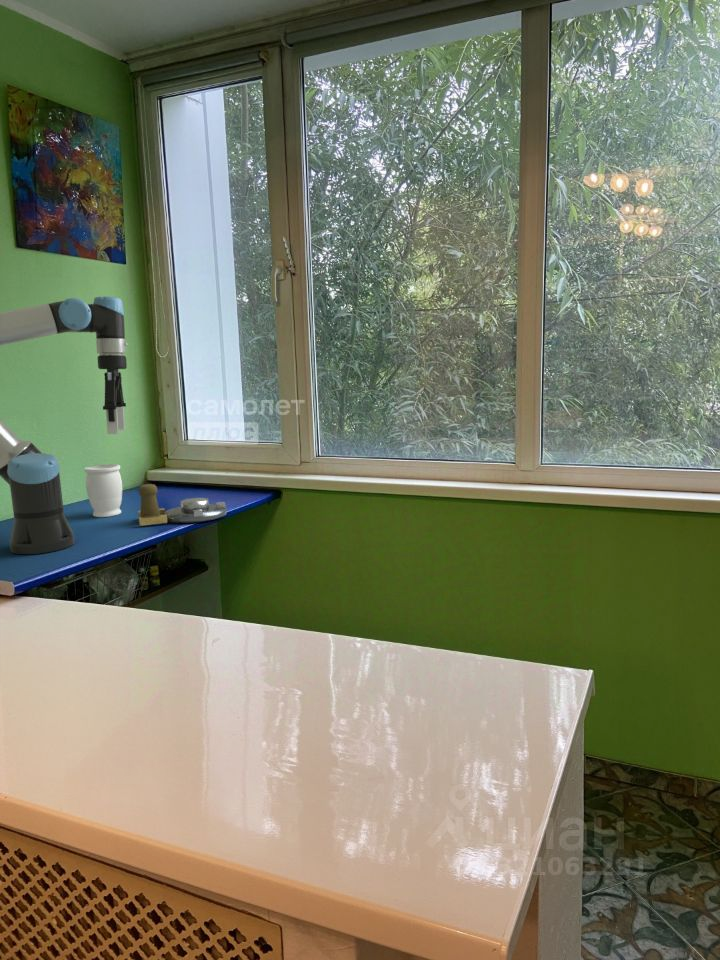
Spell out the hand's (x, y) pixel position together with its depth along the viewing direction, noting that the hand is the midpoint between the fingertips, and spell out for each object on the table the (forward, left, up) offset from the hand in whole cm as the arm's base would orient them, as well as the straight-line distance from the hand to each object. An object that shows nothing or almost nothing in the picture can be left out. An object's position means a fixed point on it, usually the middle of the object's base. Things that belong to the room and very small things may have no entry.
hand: (116, 431), depth 198 cm
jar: (0, +18, -27) cm, 33 cm away
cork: (+7, -2, -27) cm, 28 cm away
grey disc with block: (+16, -5, -26) cm, 31 cm away
